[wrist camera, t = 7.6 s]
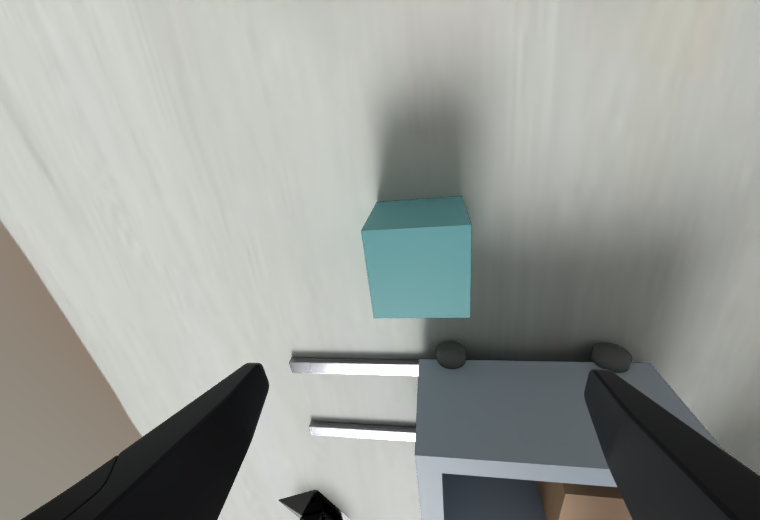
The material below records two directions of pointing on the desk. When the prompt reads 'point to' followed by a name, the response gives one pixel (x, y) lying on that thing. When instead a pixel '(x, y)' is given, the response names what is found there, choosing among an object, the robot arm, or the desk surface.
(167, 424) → the robot arm
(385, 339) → the desk surface
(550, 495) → the tan cube
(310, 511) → the black plastic bracket
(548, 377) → the box
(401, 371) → the rails
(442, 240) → the teal block
